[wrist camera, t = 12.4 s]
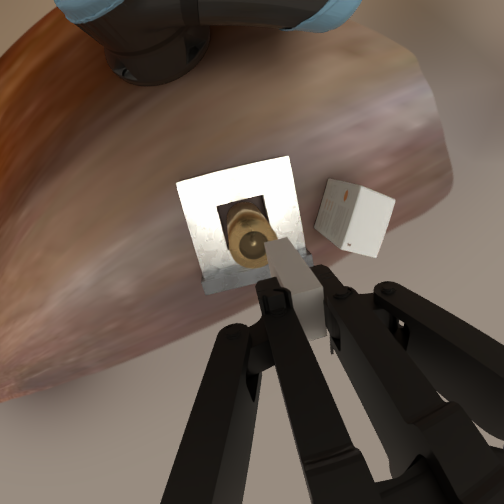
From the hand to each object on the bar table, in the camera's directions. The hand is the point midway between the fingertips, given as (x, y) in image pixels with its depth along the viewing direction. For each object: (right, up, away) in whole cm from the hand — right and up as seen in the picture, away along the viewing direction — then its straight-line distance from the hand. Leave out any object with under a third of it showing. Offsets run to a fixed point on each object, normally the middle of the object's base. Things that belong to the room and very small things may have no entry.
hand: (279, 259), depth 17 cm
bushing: (-3, +5, +22) cm, 22 cm away
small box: (+11, +7, +23) cm, 26 cm away
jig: (-3, +5, +22) cm, 22 cm away
